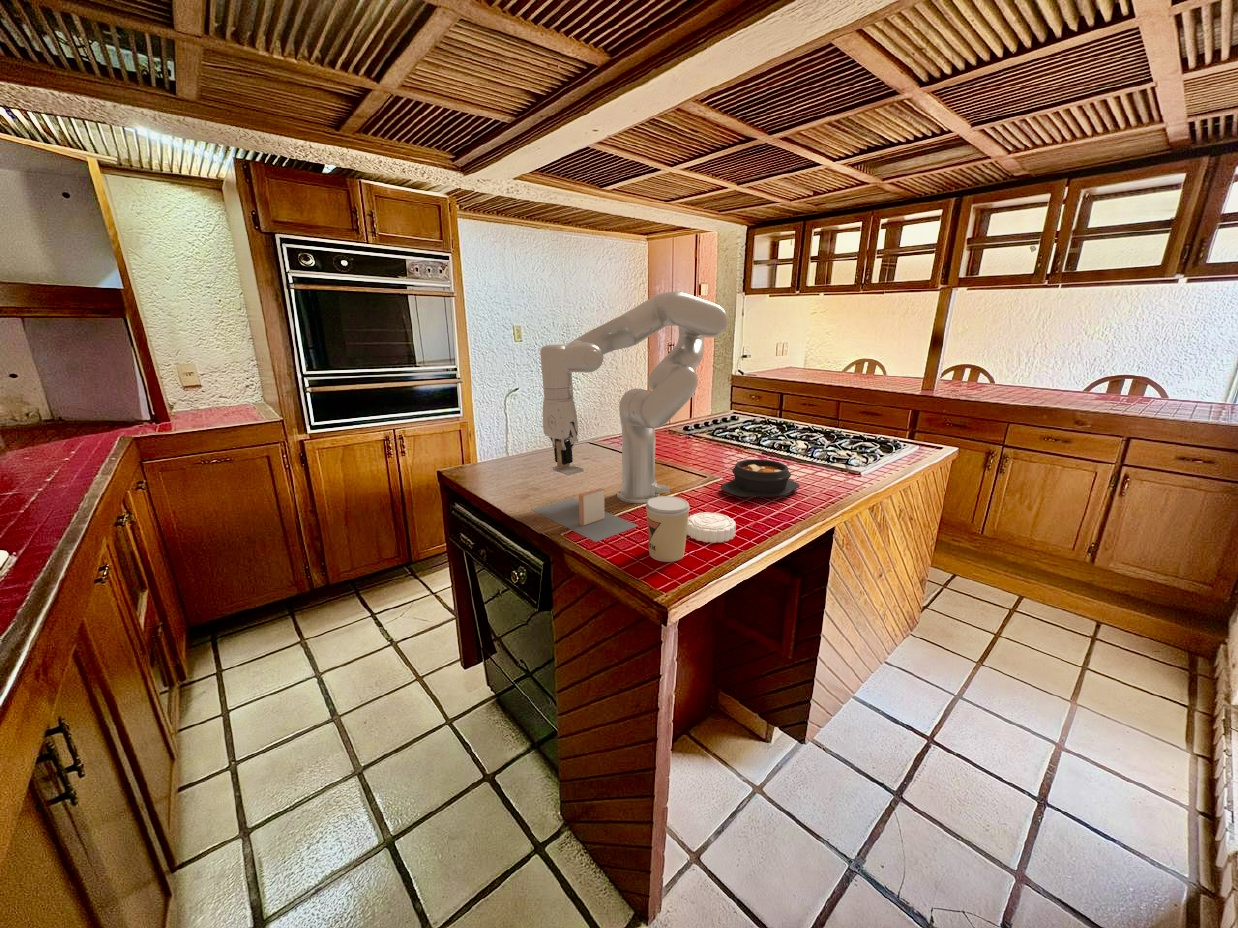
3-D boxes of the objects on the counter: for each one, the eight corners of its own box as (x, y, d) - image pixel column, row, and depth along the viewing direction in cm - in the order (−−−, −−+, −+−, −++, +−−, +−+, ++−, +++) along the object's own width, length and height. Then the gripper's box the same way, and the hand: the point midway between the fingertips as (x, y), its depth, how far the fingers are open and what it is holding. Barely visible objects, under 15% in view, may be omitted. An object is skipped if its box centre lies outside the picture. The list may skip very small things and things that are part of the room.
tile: (579, 524, 121) (578, 494, 119) (600, 517, 126) (600, 488, 123) (583, 526, 120) (583, 496, 118) (605, 518, 124) (604, 489, 122)
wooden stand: (552, 469, 129) (551, 441, 127) (567, 466, 132) (566, 438, 130) (568, 475, 124) (567, 445, 122) (583, 471, 127) (582, 442, 125)
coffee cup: (642, 545, 110) (643, 496, 107) (682, 543, 111) (684, 494, 107) (648, 564, 101) (649, 511, 98) (692, 562, 102) (694, 510, 98)
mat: (531, 510, 131) (531, 509, 131) (572, 498, 140) (572, 497, 140) (595, 543, 111) (595, 541, 111) (638, 526, 120) (638, 525, 120)
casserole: (746, 508, 132) (748, 479, 130) (707, 488, 148) (708, 462, 146) (814, 495, 142) (817, 468, 140) (770, 478, 158) (772, 453, 156)
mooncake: (711, 519, 125) (712, 507, 124) (746, 536, 115) (747, 522, 114) (675, 530, 119) (675, 516, 118) (708, 548, 109) (709, 533, 108)
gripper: (529, 393, 127) (535, 459, 132) (564, 399, 115) (570, 471, 121) (552, 389, 132) (558, 454, 137) (589, 394, 120) (593, 464, 125)
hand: (563, 461), depth 129 cm, fingers closed on wooden stand
